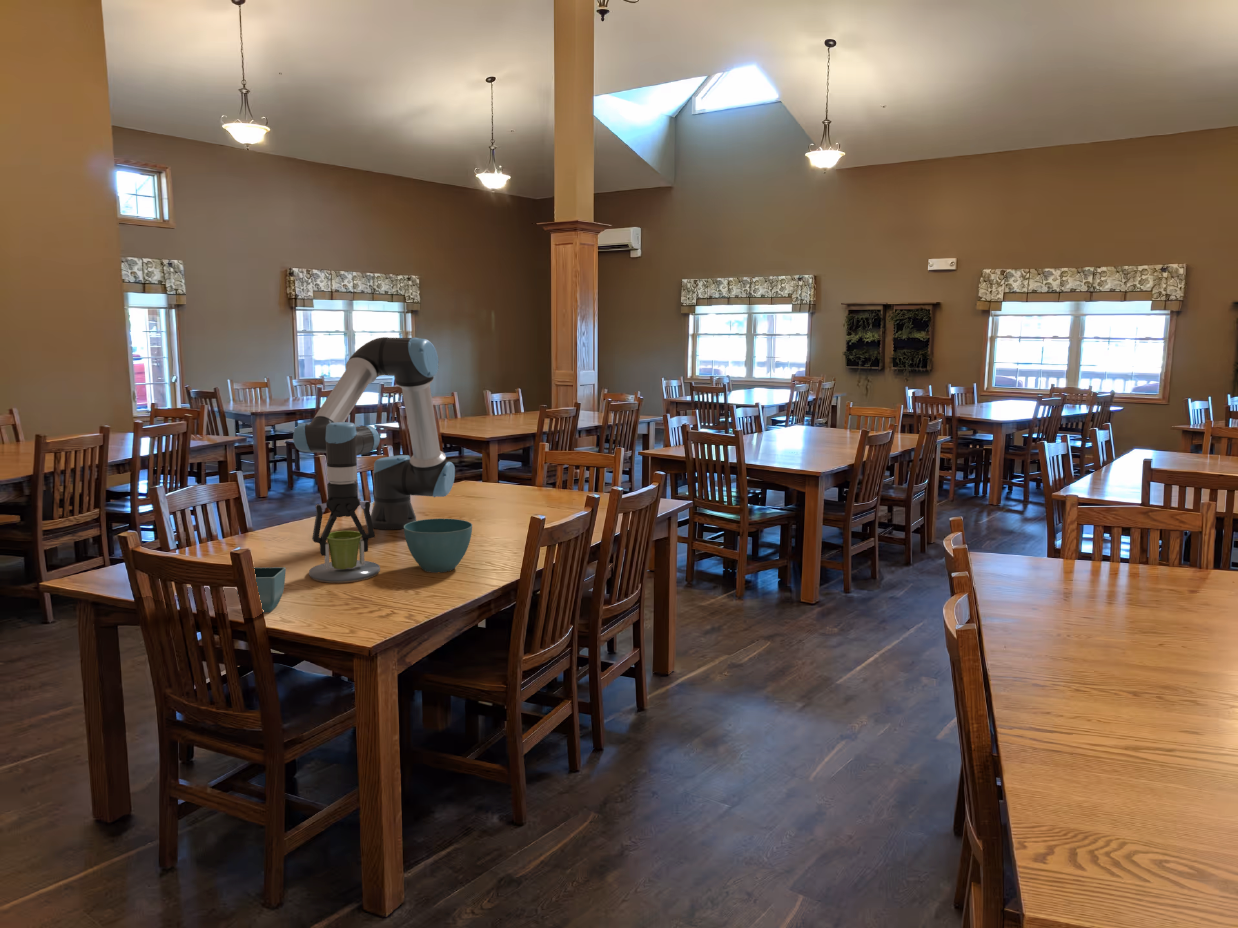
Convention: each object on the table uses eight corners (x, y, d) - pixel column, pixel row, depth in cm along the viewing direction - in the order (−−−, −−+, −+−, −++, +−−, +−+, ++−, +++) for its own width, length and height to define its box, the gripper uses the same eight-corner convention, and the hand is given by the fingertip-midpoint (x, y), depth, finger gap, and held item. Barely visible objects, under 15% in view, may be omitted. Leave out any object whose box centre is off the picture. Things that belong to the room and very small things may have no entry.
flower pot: (249, 603, 196) (247, 566, 195) (287, 603, 197) (286, 566, 195) (235, 616, 187) (233, 577, 186) (276, 615, 188) (274, 577, 187)
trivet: (372, 561, 234) (372, 557, 234) (386, 578, 218) (386, 574, 218) (305, 568, 226) (304, 564, 226) (313, 586, 210) (313, 581, 210)
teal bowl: (394, 566, 230) (393, 522, 229) (454, 556, 241) (453, 515, 239) (421, 582, 216) (421, 535, 214) (484, 571, 227) (484, 527, 225)
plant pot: (368, 562, 226) (367, 531, 225) (354, 572, 217) (353, 539, 216) (335, 560, 227) (334, 529, 226) (319, 570, 218) (318, 538, 217)
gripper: (380, 477, 227) (382, 558, 230) (297, 481, 217) (301, 566, 220) (386, 481, 220) (387, 564, 223) (301, 486, 210) (304, 573, 214)
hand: (344, 565), depth 222 cm, fingers closed on plant pot, 8 cm apart
